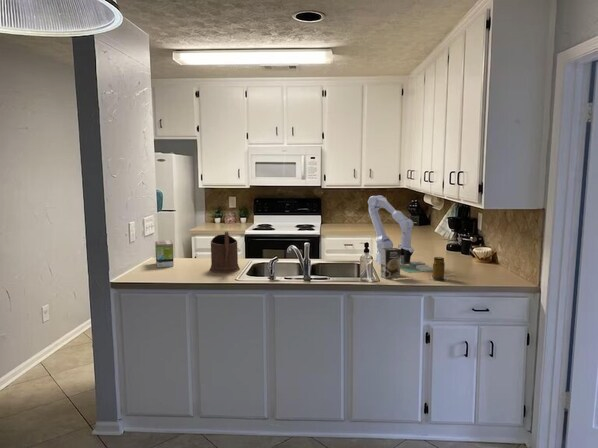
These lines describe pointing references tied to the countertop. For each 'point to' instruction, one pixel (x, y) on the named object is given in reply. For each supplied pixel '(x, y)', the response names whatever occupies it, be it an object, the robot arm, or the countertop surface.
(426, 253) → the countertop surface
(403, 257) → the plug
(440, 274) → the condiment
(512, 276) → the countertop surface
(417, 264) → the grey knob block
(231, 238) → the brown tall hollow container
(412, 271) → the board
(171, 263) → the tea box
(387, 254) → the coffee box
